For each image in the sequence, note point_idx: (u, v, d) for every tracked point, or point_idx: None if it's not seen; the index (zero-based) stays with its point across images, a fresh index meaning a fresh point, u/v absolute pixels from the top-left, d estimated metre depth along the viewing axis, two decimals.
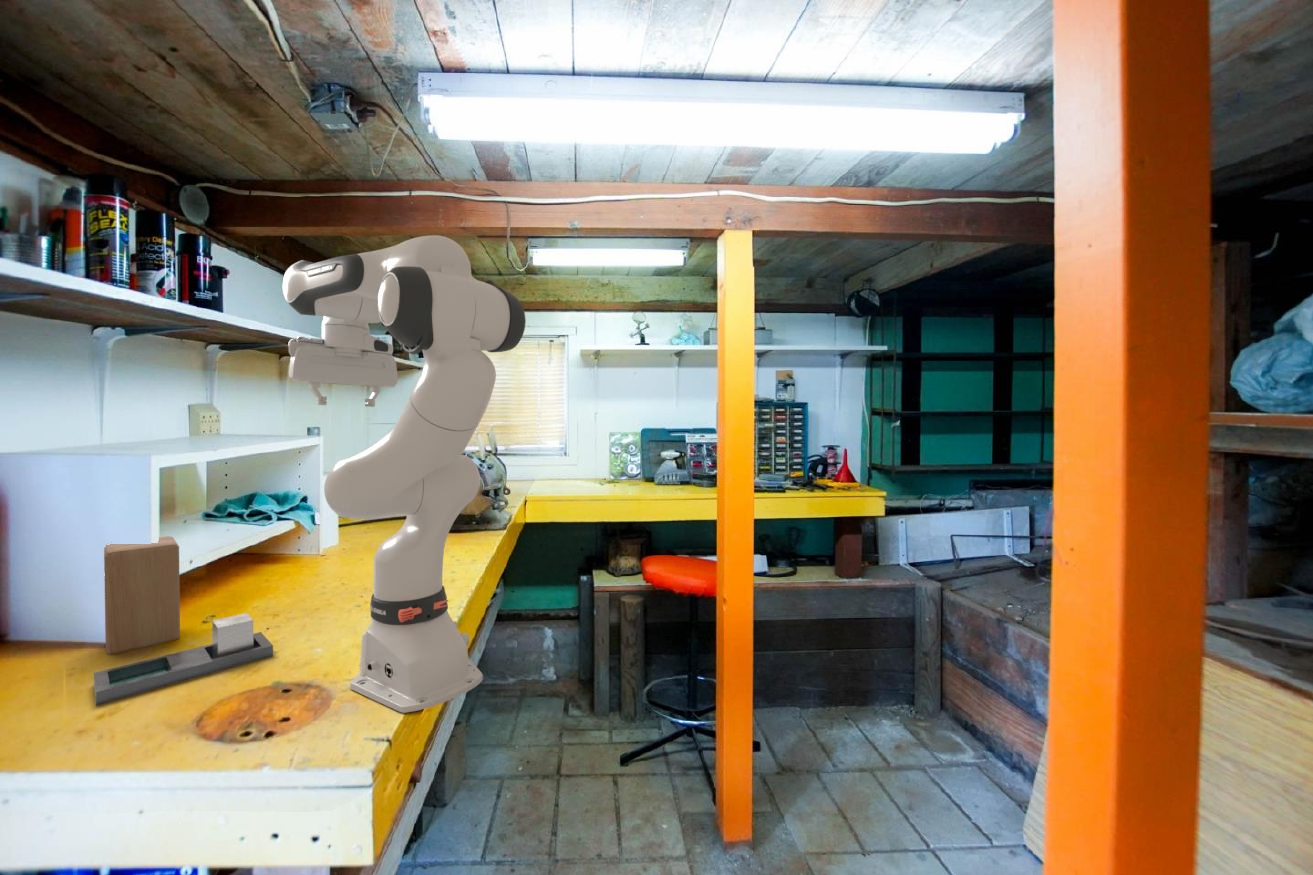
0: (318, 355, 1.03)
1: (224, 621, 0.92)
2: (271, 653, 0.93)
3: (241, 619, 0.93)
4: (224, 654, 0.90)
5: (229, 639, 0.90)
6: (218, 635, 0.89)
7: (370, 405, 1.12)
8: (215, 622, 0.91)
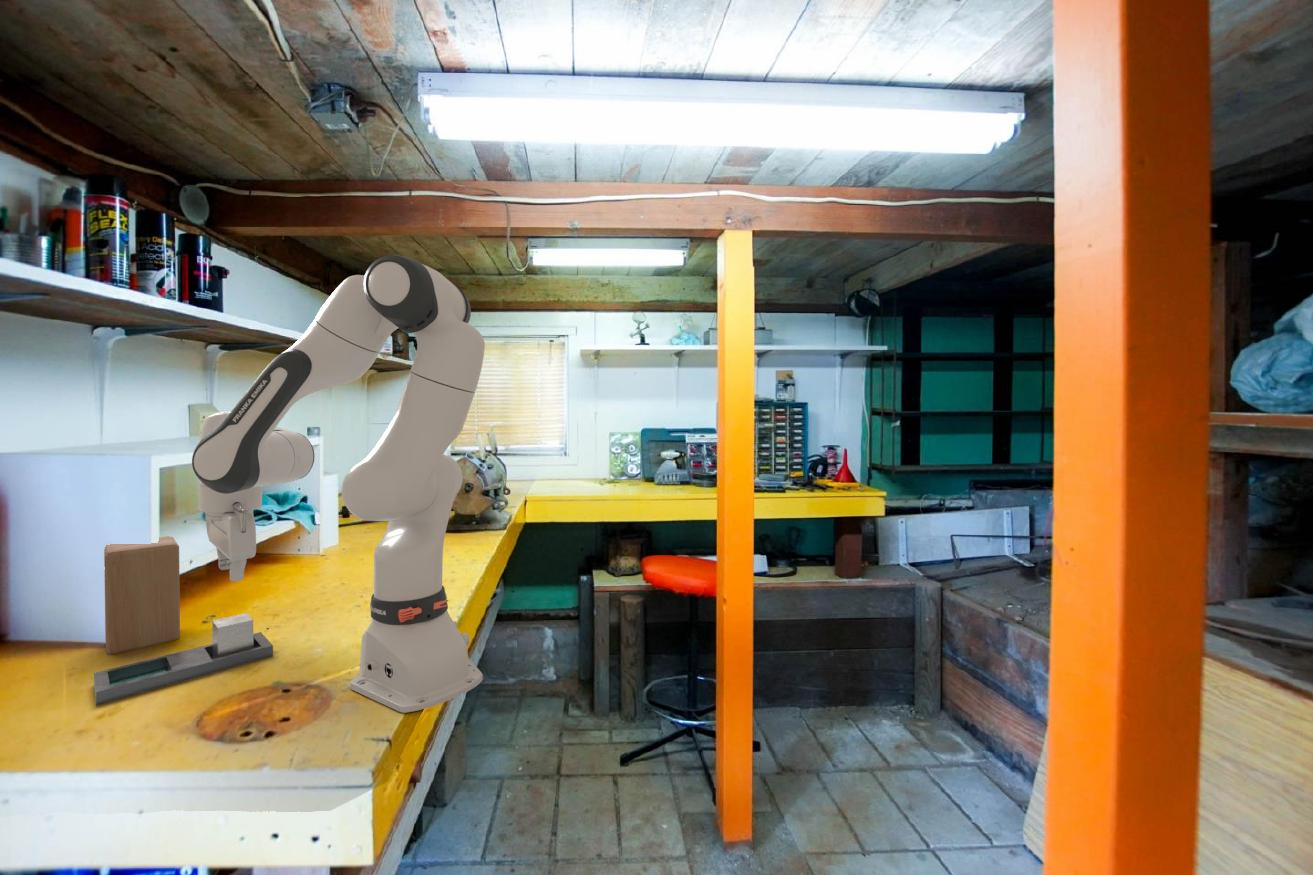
0: None
1: (224, 621, 0.92)
2: (271, 653, 0.93)
3: (241, 619, 0.93)
4: (224, 654, 0.90)
5: (229, 639, 0.90)
6: (218, 635, 0.89)
7: None
8: (215, 622, 0.91)
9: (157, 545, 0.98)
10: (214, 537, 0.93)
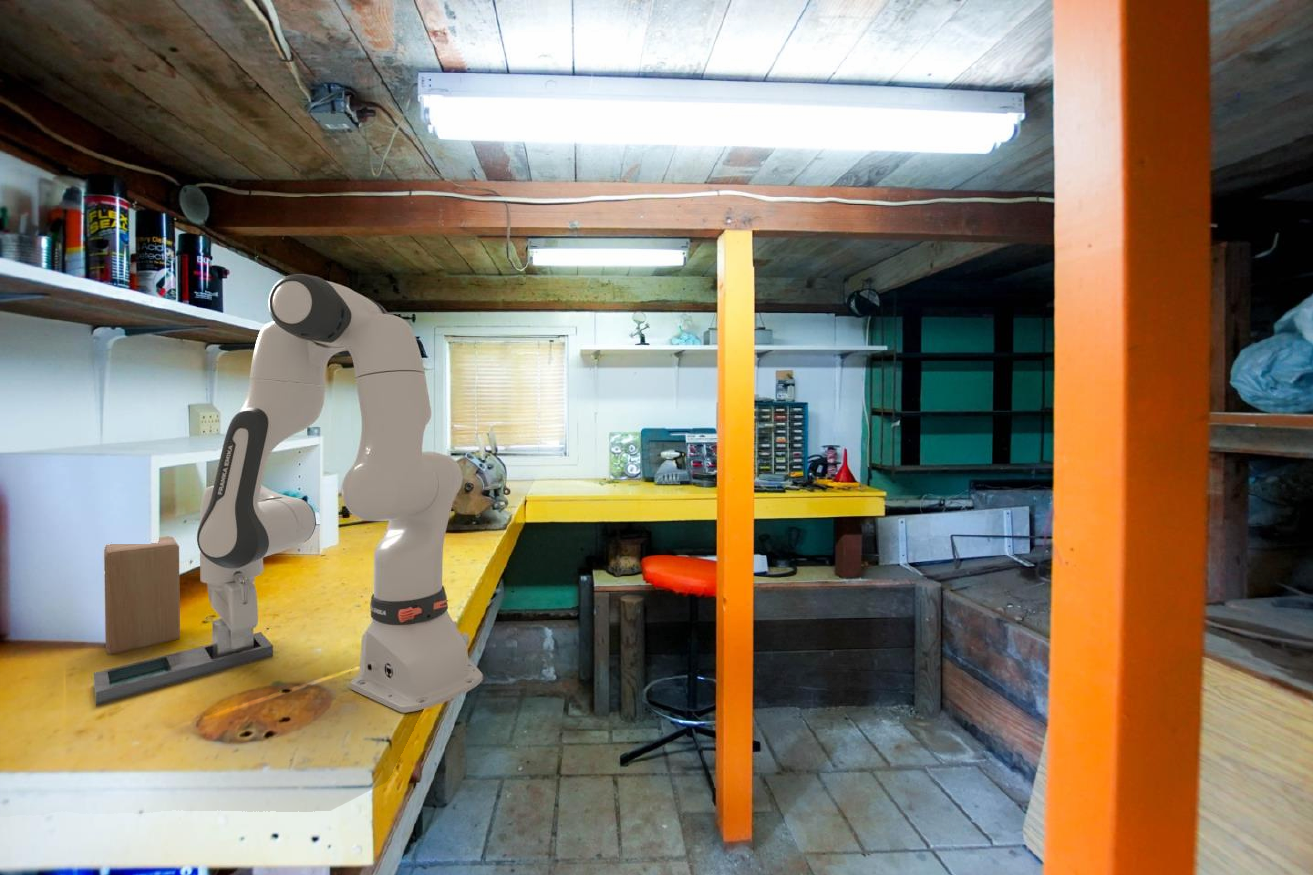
0: None
1: None
2: (271, 653, 0.93)
3: None
4: (224, 654, 0.89)
5: (229, 639, 0.90)
6: (218, 635, 0.89)
7: None
8: (215, 622, 0.91)
9: (157, 545, 0.98)
10: (216, 604, 0.93)
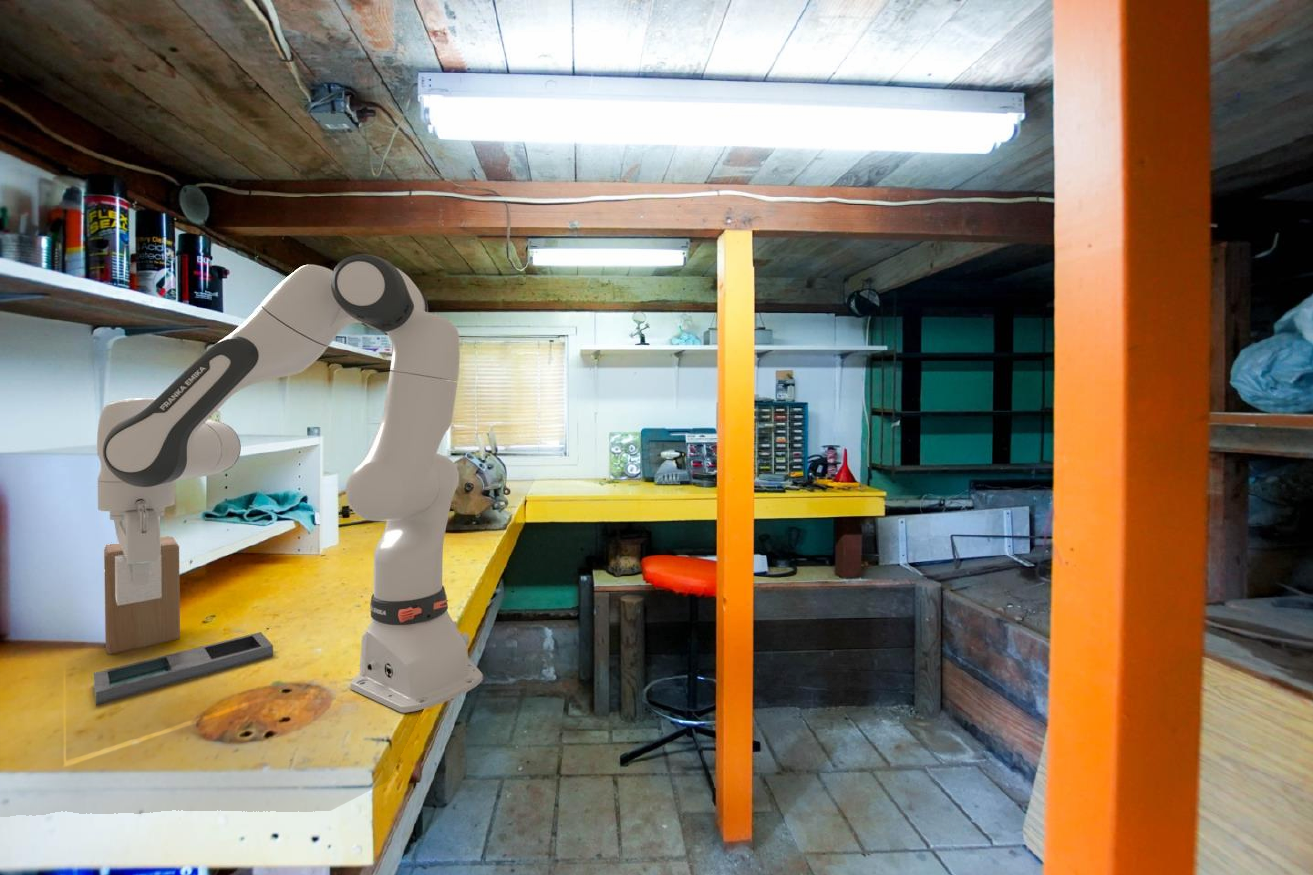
0: None
1: None
2: (271, 653, 0.93)
3: None
4: (125, 592, 0.80)
5: (131, 575, 0.80)
6: (118, 570, 0.79)
7: None
8: (117, 557, 0.82)
9: None
10: (120, 539, 0.83)
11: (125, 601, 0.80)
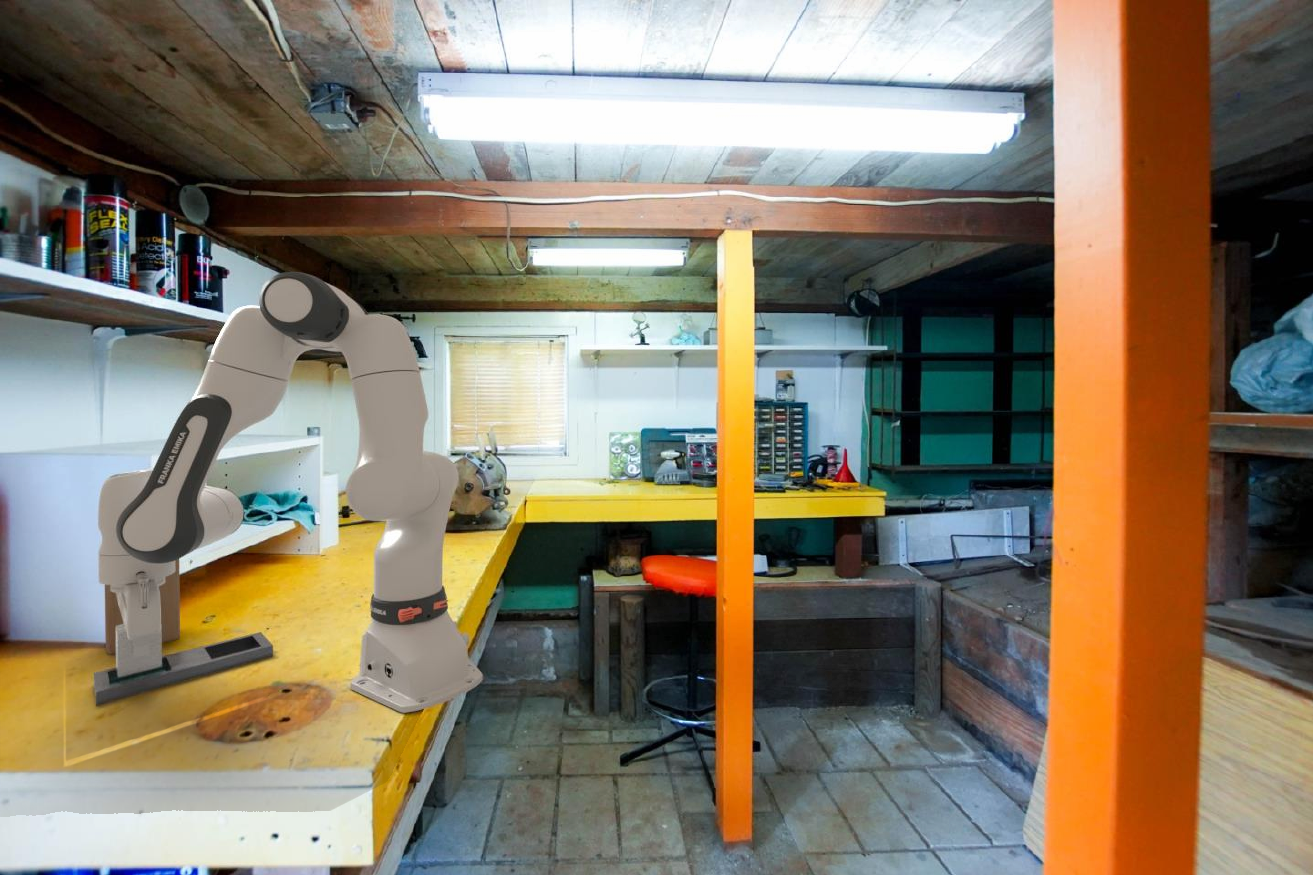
0: None
1: None
2: (271, 653, 0.93)
3: None
4: (125, 663, 0.80)
5: (131, 646, 0.81)
6: (118, 642, 0.80)
7: None
8: (118, 627, 0.82)
9: None
10: (121, 608, 0.84)
11: (125, 673, 0.80)
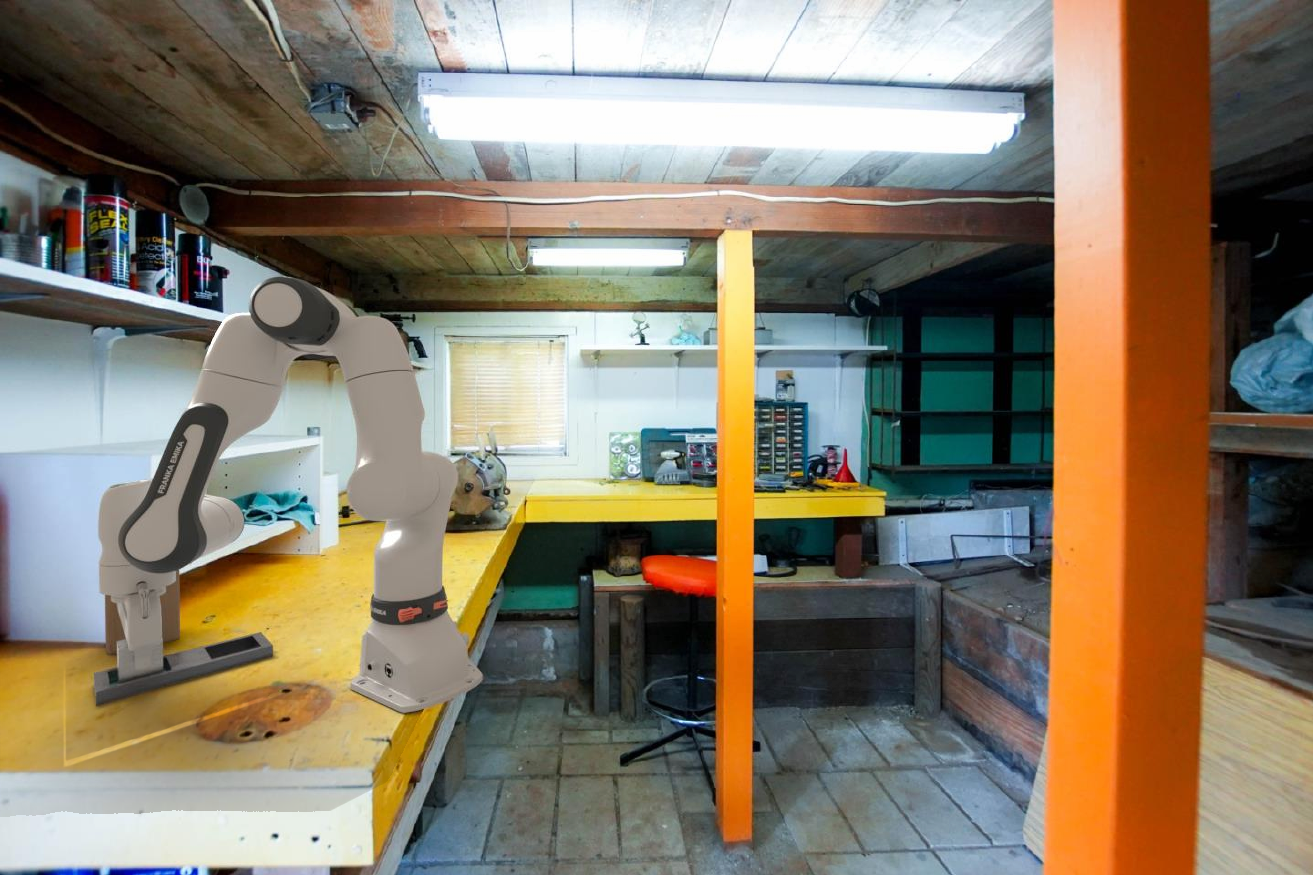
0: None
1: None
2: (271, 653, 0.93)
3: None
4: (127, 679, 0.80)
5: (133, 662, 0.81)
6: (119, 658, 0.80)
7: None
8: (119, 643, 0.82)
9: None
10: (122, 617, 0.84)
11: None
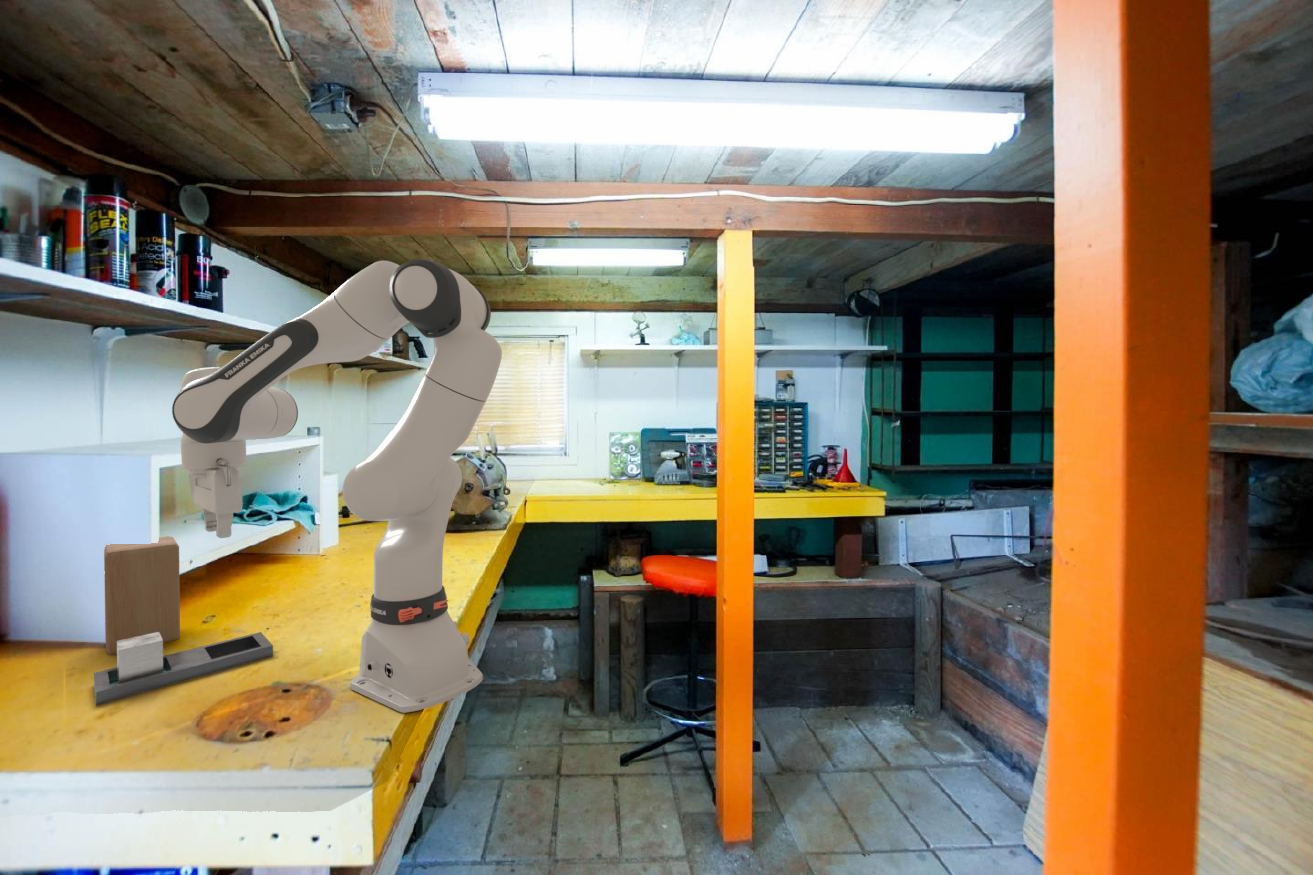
0: None
1: (129, 642, 0.82)
2: (271, 653, 0.93)
3: (150, 639, 0.84)
4: (127, 679, 0.80)
5: (133, 662, 0.81)
6: (119, 658, 0.80)
7: None
8: (119, 643, 0.82)
9: (157, 545, 0.98)
10: (199, 498, 0.92)
11: None
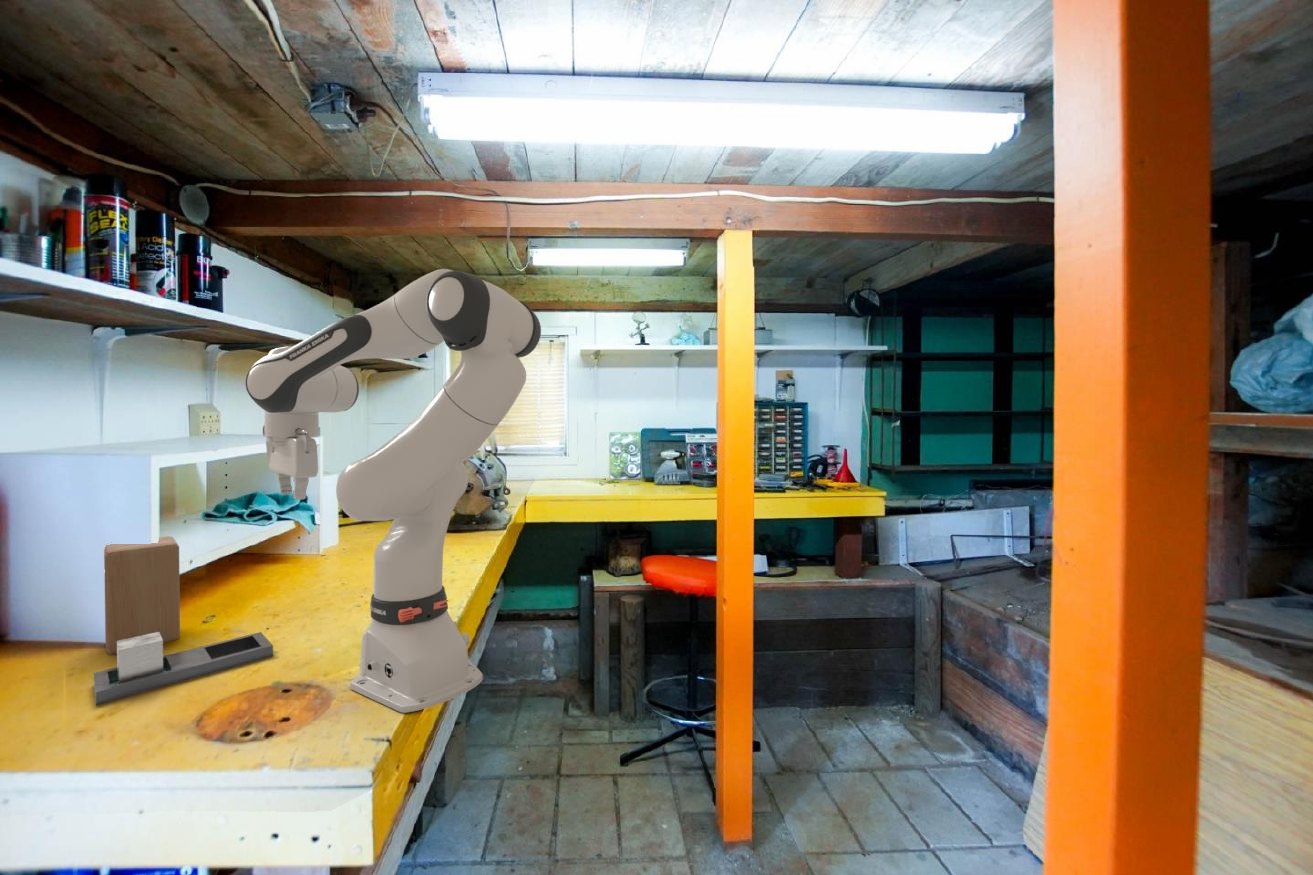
0: None
1: (129, 642, 0.82)
2: (271, 653, 0.93)
3: (150, 639, 0.84)
4: (127, 679, 0.80)
5: (133, 662, 0.81)
6: (119, 658, 0.80)
7: None
8: (119, 643, 0.82)
9: (157, 545, 0.98)
10: (276, 464, 1.02)
11: None
